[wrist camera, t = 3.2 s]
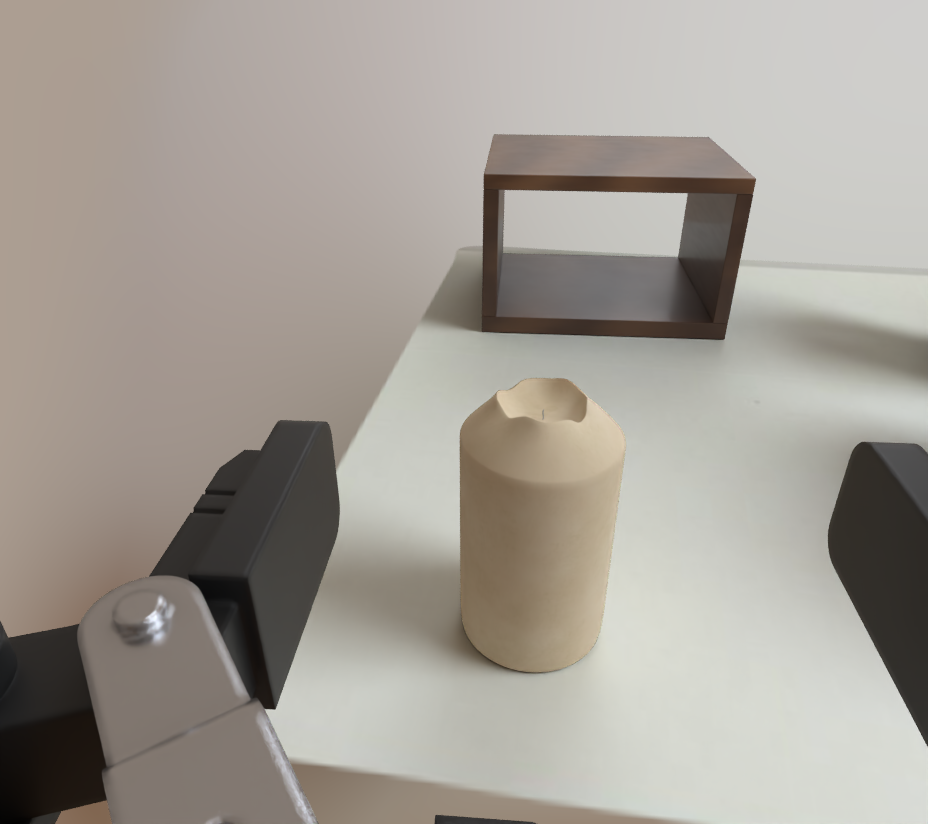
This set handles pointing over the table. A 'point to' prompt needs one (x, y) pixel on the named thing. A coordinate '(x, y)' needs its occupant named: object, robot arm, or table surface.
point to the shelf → (617, 277)
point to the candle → (537, 523)
